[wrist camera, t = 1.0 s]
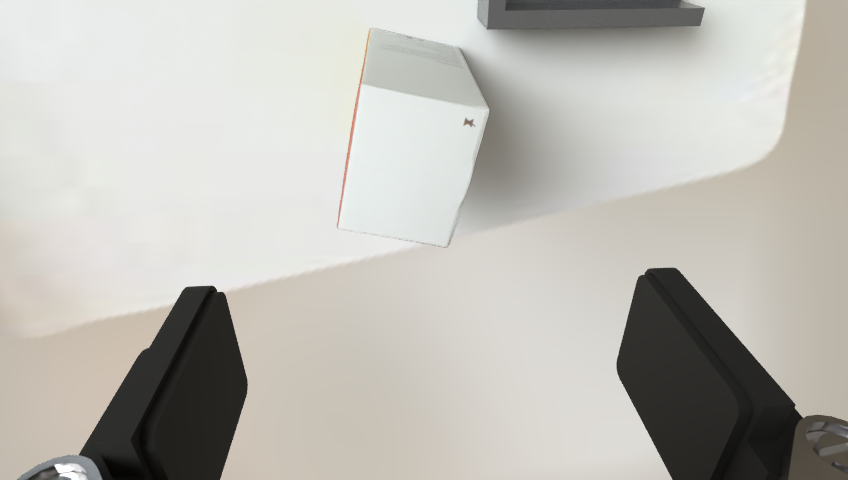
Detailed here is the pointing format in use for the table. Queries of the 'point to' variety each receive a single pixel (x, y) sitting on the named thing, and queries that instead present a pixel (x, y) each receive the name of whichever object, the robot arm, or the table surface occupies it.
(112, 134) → the table surface
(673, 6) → the cradle
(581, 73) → the table surface
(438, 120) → the small box
